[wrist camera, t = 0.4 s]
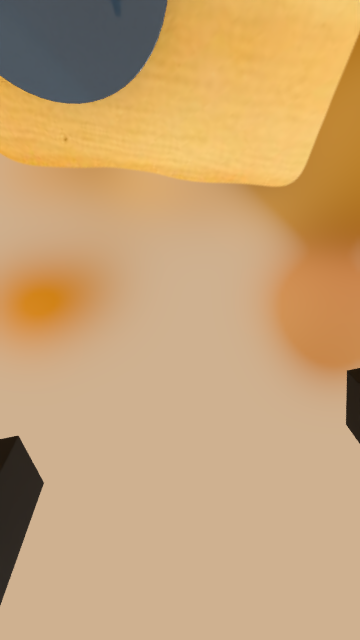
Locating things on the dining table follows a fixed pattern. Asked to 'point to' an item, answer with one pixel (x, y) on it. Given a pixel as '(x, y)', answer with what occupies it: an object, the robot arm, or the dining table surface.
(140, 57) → the plate
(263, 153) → the dining table surface
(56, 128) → the dining table surface
